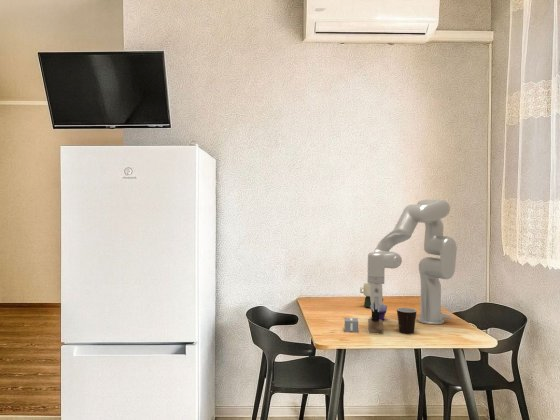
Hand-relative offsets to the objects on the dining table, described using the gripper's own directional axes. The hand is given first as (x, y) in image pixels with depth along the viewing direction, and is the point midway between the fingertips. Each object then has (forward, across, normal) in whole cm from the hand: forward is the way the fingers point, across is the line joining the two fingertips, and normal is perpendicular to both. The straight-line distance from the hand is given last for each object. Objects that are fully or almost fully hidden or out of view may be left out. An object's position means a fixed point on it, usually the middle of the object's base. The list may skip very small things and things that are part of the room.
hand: (375, 320), depth 202 cm
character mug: (+5, +48, 0) cm, 48 cm away
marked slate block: (+5, 0, +11) cm, 12 cm away
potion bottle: (+5, +22, -3) cm, 23 cm away
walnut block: (+5, 0, 0) cm, 5 cm away
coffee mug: (+5, 0, -13) cm, 14 cm away
